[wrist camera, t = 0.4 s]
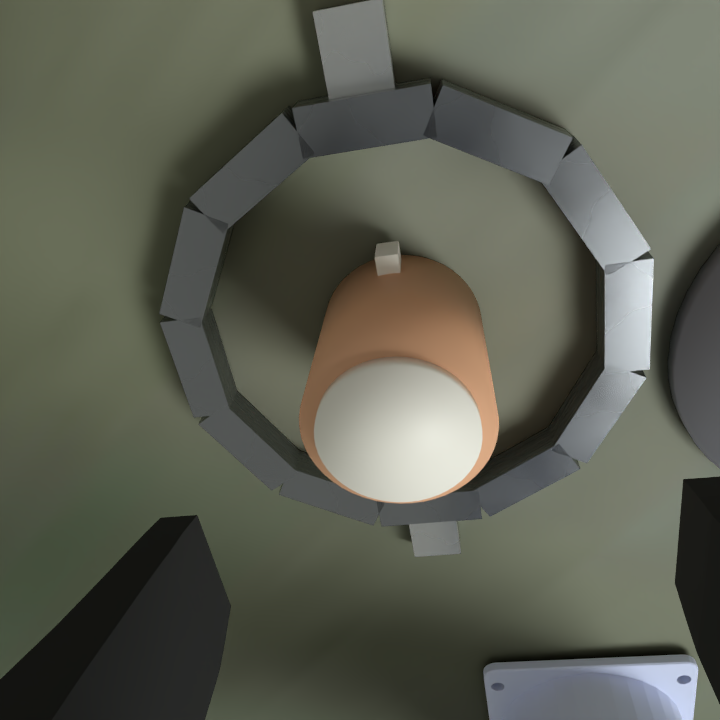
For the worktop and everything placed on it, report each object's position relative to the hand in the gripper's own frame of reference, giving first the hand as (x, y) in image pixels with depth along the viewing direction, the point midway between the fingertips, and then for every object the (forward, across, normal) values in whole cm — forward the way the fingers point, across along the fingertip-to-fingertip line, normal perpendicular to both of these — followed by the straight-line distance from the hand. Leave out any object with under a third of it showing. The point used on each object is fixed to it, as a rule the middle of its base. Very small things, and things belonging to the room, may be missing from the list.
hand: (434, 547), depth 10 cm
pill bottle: (+10, +1, +1) cm, 10 cm away
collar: (+10, +1, +1) cm, 10 cm away
